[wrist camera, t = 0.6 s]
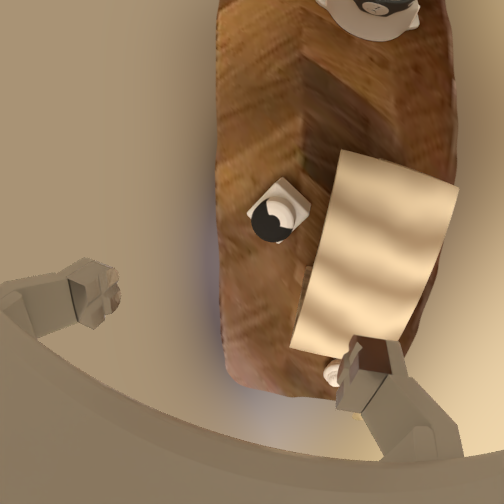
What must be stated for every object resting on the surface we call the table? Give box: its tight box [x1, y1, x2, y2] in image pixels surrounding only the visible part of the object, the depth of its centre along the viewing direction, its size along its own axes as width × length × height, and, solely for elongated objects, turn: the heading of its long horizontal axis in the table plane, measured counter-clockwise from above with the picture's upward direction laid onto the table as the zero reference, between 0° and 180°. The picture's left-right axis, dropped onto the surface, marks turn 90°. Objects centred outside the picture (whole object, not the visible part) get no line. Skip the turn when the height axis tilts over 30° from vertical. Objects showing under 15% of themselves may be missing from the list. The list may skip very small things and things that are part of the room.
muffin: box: [323, 359, 341, 387], centre depth 57 cm, size 6×6×7 cm
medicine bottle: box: [247, 177, 311, 244], centre depth 44 cm, size 7×7×12 cm
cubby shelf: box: [290, 149, 459, 359], centre depth 37 cm, size 24×13×22 cm, turn 171°
